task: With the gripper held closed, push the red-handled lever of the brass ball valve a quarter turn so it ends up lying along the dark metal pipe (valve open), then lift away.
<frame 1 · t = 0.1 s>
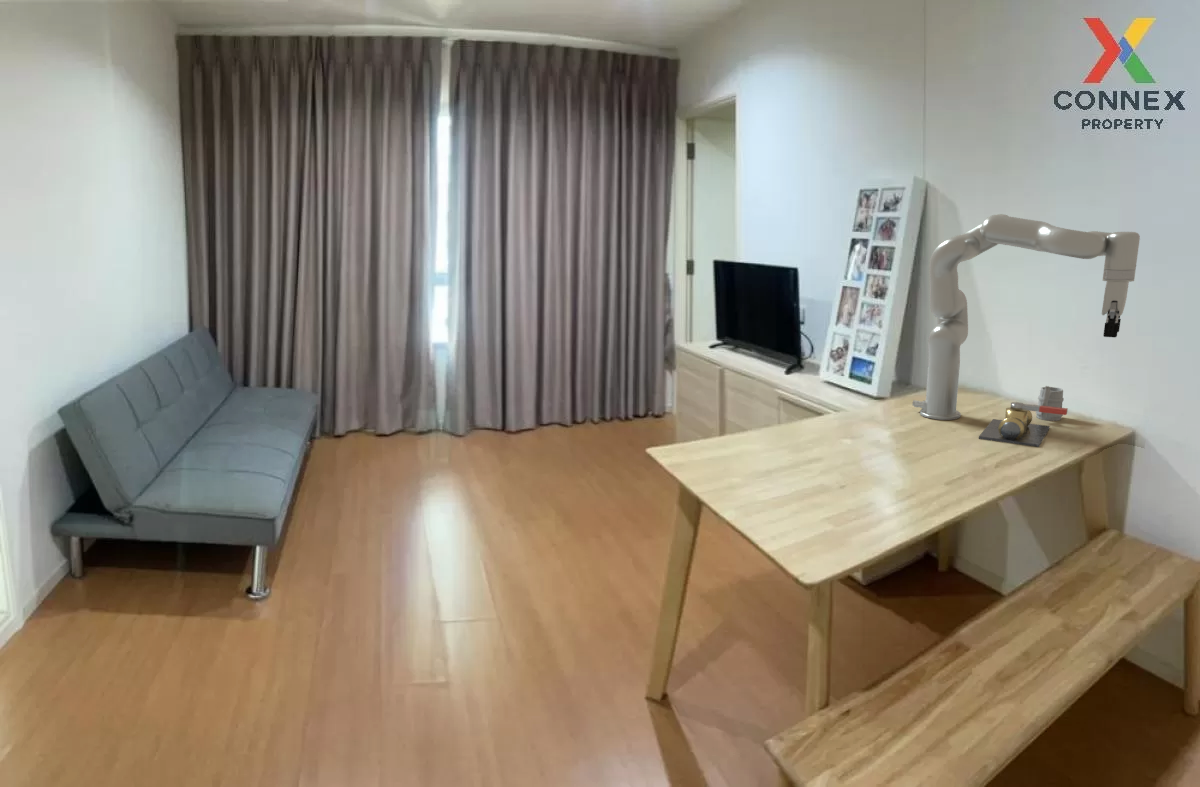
hand: (1111, 334, 217), 31 cm above the table, tool pointing down, fingers open, 9 cm apart
valve body: (1014, 433, 229), on the table
mug: (1046, 419, 243), on the table
lever: (1038, 408, 224), point 9 cm above the table, hinge at 0.0°
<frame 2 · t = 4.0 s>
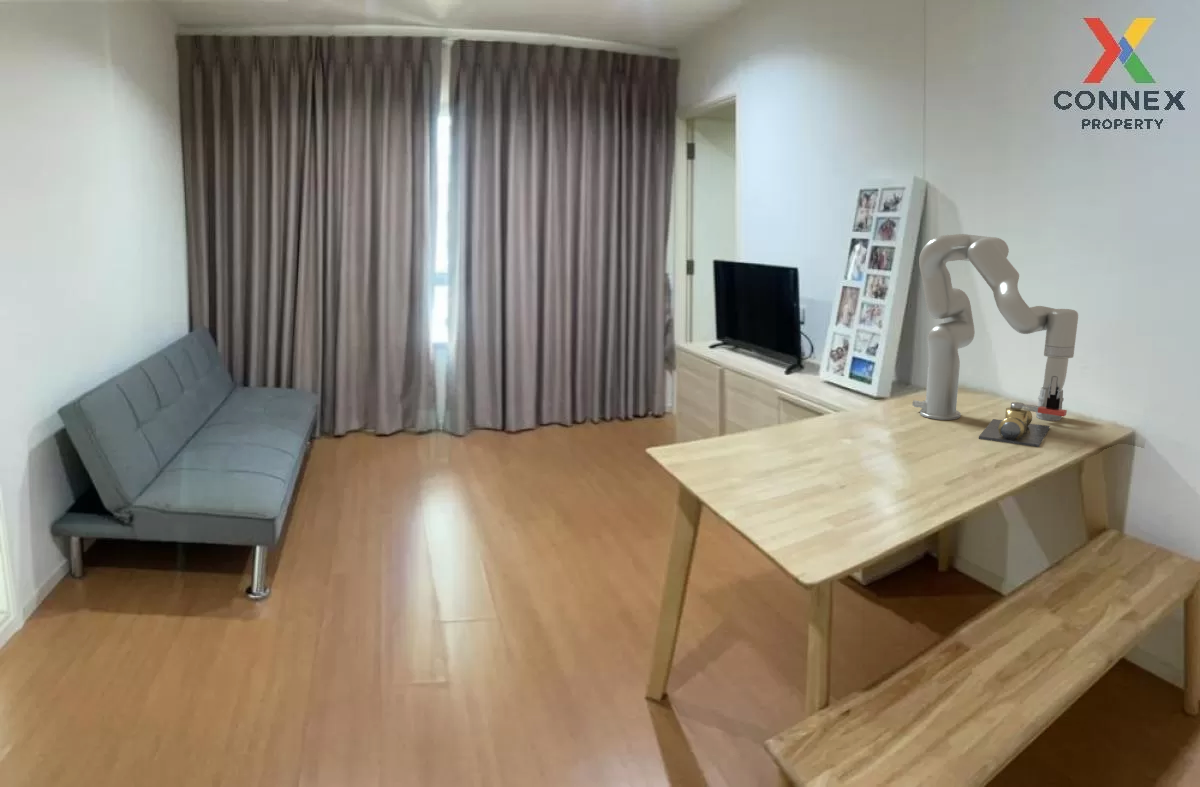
hand: (1052, 410, 223), 8 cm above the table, tool pointing down, fingers closed
lever: (1037, 409, 223), point 9 cm above the table, hinge at -9.5°, touching gripper
everything else where it was.
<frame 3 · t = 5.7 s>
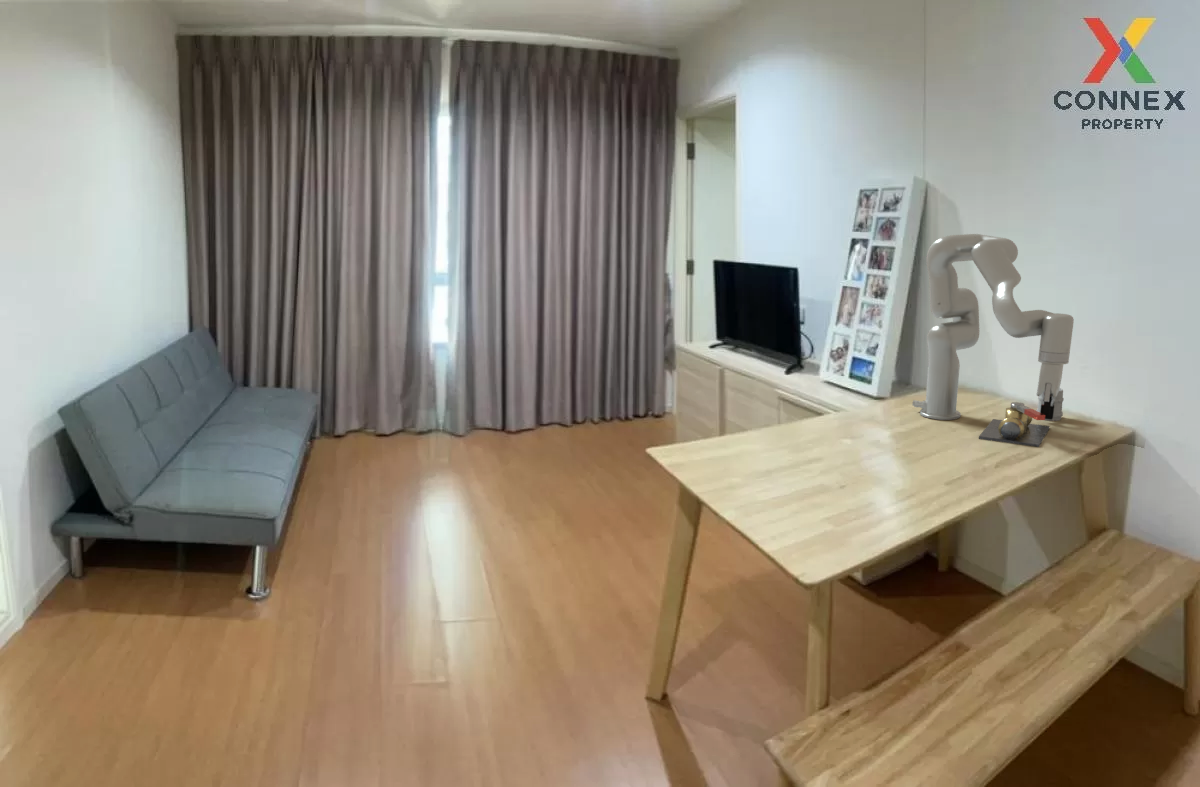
hand: (1046, 418, 217), 8 cm above the table, tool pointing down, fingers closed
lever: (1027, 411, 222), point 9 cm above the table, hinge at -53.7°, touching gripper
everything else where it was.
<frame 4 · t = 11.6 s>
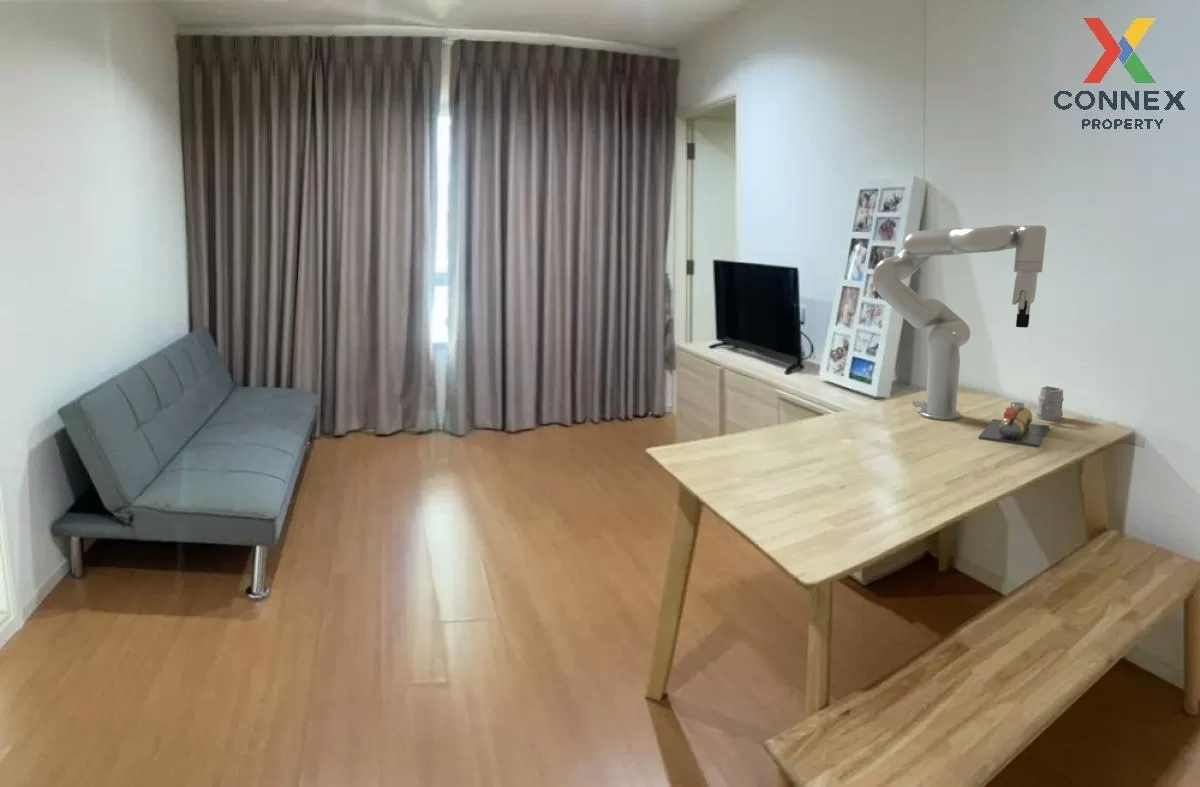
hand: (1022, 326, 229), 32 cm above the table, tool pointing down, fingers closed
lever: (1013, 410, 223), point 9 cm above the table, hinge at -92.1°
everything else where it was.
at the end: lever at -92° (first picture: +0°); lever touching nothing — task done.
